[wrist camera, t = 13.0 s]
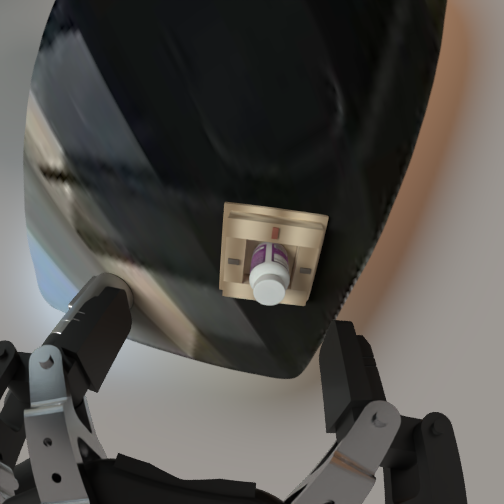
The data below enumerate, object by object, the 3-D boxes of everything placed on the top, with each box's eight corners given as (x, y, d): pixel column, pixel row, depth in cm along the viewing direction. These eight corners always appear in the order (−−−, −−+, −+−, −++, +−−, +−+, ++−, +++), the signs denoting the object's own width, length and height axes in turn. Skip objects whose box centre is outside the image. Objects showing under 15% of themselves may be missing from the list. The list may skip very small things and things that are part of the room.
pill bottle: (256, 272, 44) (251, 312, 35) (249, 242, 41) (242, 278, 33) (290, 268, 43) (293, 307, 34) (285, 237, 41) (288, 272, 32)
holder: (219, 287, 46) (215, 300, 43) (225, 201, 39) (220, 210, 36) (307, 298, 46) (309, 312, 43) (328, 215, 39) (332, 225, 36)
